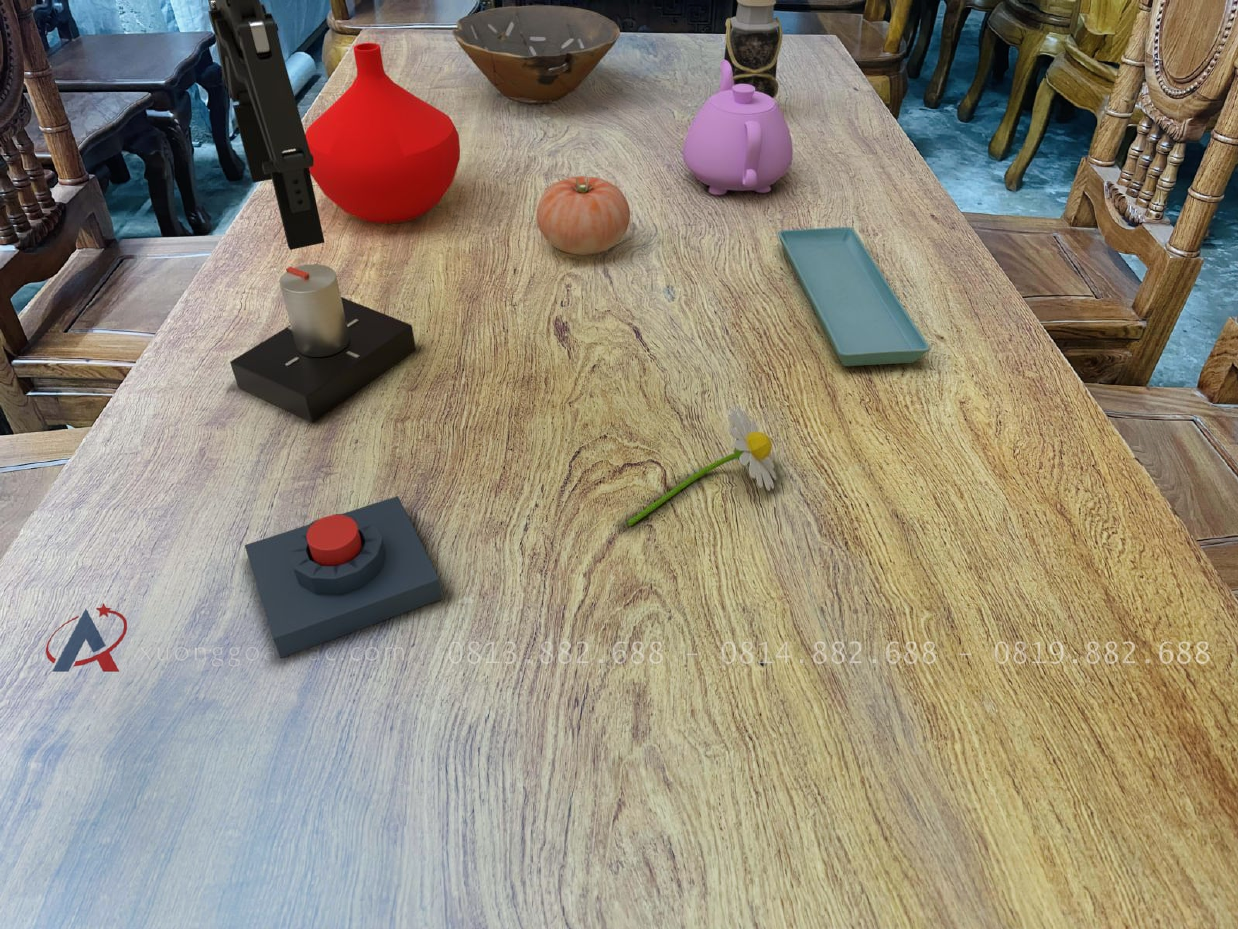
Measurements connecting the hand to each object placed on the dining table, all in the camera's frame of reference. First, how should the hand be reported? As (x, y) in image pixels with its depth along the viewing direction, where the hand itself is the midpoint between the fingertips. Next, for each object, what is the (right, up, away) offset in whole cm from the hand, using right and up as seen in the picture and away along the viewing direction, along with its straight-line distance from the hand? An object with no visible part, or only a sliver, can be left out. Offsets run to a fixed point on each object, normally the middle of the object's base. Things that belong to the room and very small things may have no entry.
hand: (286, 209), depth 79 cm
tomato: (+24, +4, +33) cm, 40 cm away
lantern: (+47, +31, +63) cm, 84 cm away
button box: (+7, -30, -7) cm, 32 cm away
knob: (-1, -10, +12) cm, 15 cm away
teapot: (+43, +17, +47) cm, 66 cm away
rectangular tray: (+52, -4, +24) cm, 57 cm away
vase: (-1, +11, +40) cm, 41 cm away
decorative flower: (+36, -24, 0) cm, 43 cm away
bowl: (+15, +37, +69) cm, 79 cm away
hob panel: (-1, -12, +14) cm, 18 cm away
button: (+7, -27, -10) cm, 30 cm away
